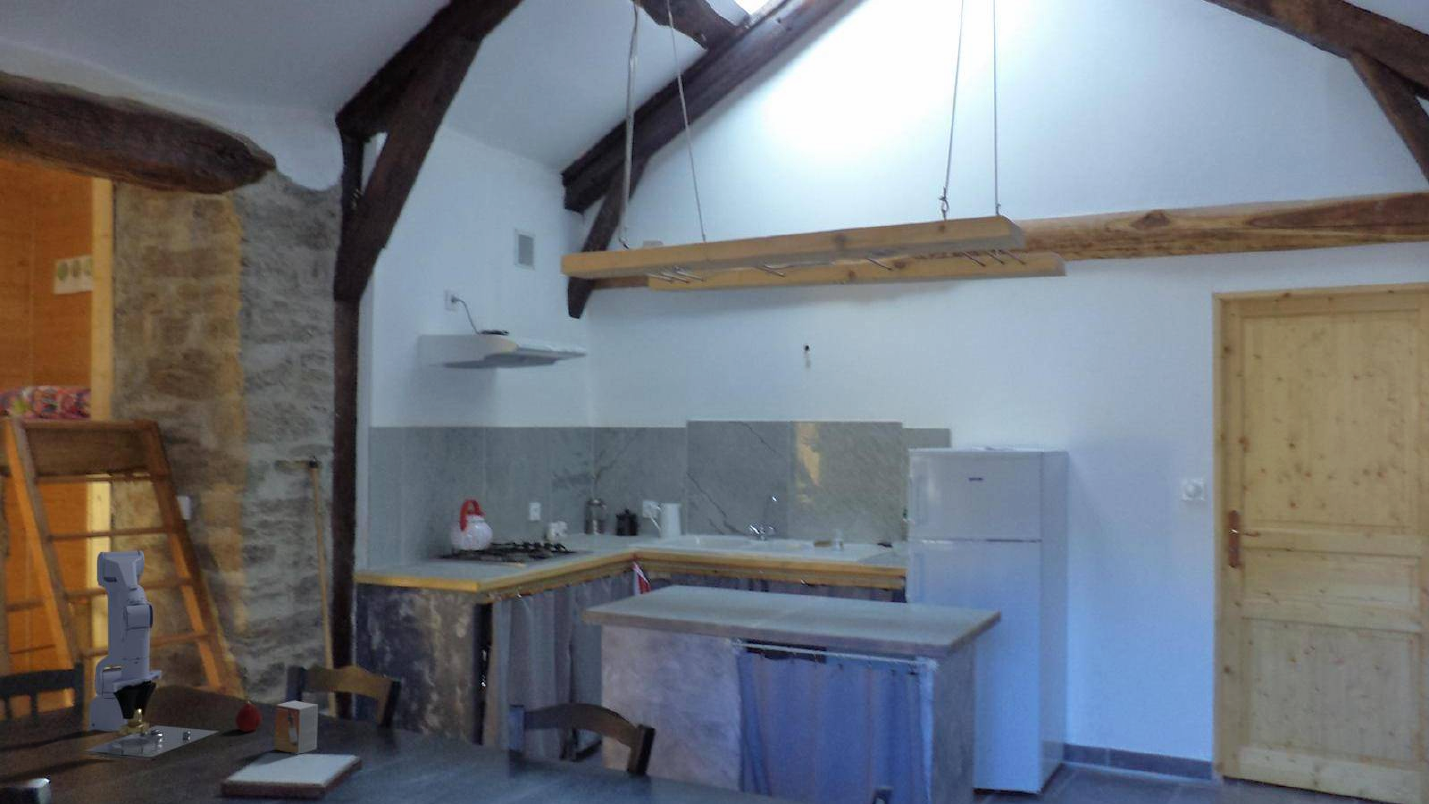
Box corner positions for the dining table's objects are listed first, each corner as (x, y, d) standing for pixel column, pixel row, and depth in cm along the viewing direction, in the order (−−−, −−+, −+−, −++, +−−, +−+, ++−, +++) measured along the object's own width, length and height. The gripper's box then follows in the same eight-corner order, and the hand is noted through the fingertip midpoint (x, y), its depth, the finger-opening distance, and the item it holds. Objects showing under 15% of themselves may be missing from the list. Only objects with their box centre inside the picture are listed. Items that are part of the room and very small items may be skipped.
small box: (273, 750, 253) (275, 704, 253) (293, 744, 258) (294, 699, 258) (298, 755, 249) (299, 709, 250) (317, 749, 254) (318, 703, 255)
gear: (113, 733, 248) (113, 711, 248) (134, 727, 254) (134, 705, 254) (134, 735, 246) (134, 713, 246) (155, 729, 252) (155, 707, 252)
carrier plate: (82, 755, 247) (82, 741, 247) (156, 729, 269) (156, 716, 269) (148, 762, 243) (149, 747, 243) (218, 735, 265) (219, 721, 265)
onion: (265, 731, 269) (266, 698, 269) (253, 737, 263) (254, 704, 263) (243, 730, 269) (243, 698, 269) (230, 737, 263) (231, 703, 264)
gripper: (125, 664, 243) (124, 726, 242) (173, 652, 257) (171, 710, 256) (99, 662, 244) (97, 723, 244) (148, 650, 258) (146, 708, 258)
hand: (133, 716), depth 250 cm, fingers closed on gear, 3 cm apart
